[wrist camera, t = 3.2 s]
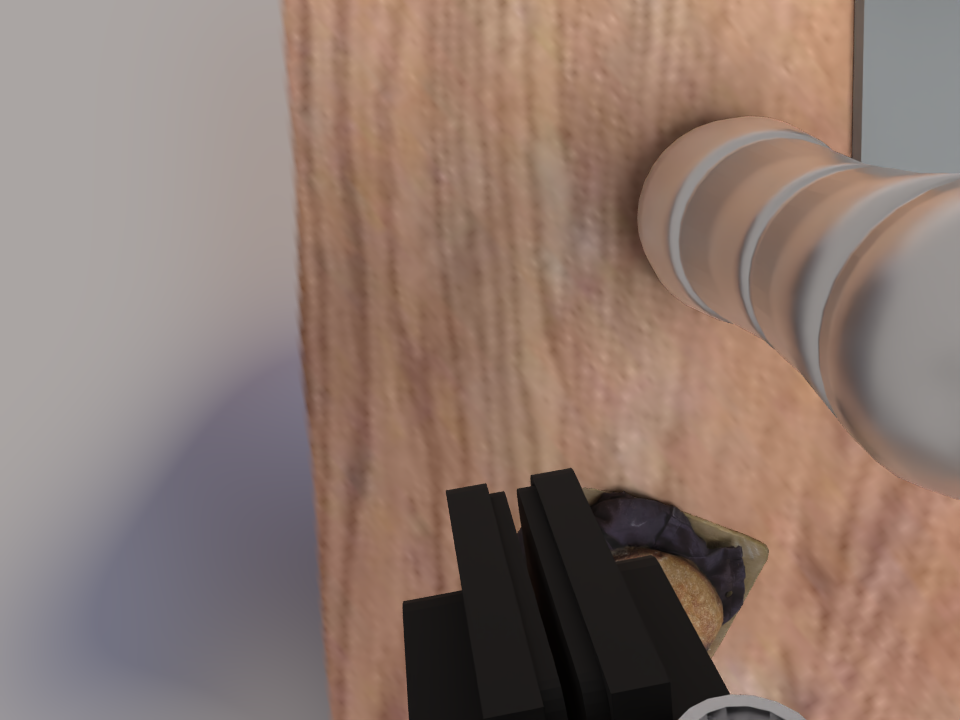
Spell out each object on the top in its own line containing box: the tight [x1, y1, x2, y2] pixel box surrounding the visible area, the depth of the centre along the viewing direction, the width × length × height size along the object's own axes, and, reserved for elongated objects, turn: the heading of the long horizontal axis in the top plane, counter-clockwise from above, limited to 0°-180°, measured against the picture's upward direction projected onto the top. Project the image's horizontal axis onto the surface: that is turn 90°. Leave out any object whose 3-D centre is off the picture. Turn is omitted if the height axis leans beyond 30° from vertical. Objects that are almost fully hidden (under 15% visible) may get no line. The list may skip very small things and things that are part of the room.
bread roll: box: [517, 488, 769, 658], centre depth 34 cm, size 11×8×4 cm
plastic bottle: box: [637, 116, 960, 500], centre depth 21 cm, size 6×7×20 cm
